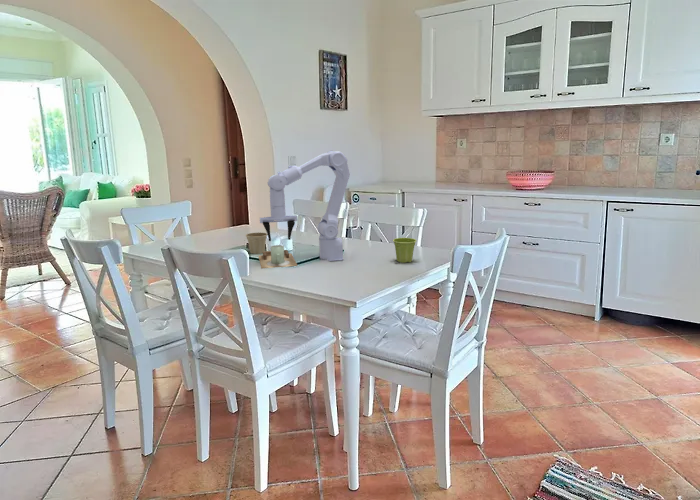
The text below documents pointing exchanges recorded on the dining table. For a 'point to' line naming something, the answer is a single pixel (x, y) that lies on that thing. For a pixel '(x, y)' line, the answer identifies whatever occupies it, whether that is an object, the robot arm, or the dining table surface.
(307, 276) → the dining table surface
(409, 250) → the plant pot
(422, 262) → the dining table surface
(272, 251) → the sage green cylinder
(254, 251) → the flower pot
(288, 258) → the board
